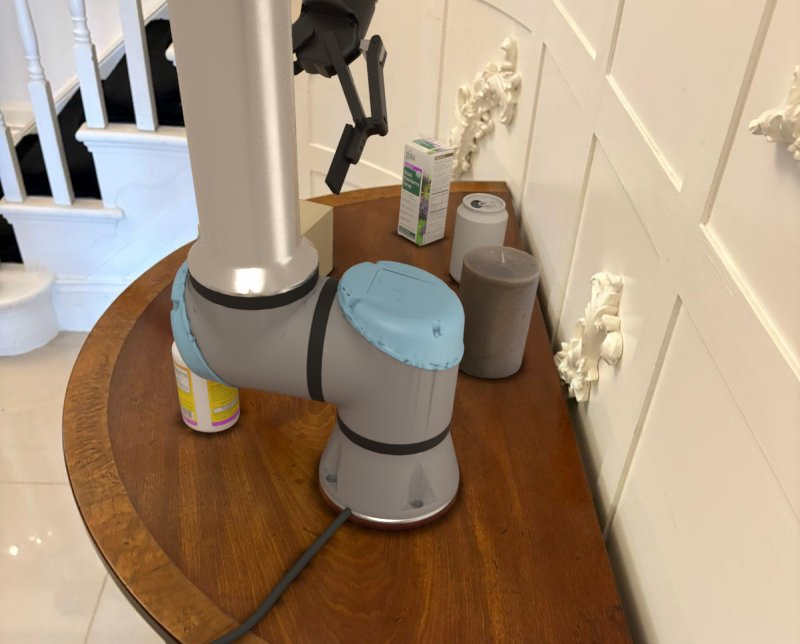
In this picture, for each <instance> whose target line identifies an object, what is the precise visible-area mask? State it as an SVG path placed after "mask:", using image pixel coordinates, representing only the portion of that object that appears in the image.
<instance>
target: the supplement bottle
mask: <svg viewBox="0 0 800 644" xmlns="http://www.w3.org/2000/svg"><path fill="white" fill-rule="evenodd" d="M171 355H172V363H173V368H174V369H173V370H174V375H175V381H176V387H177V388H176V389H177V393H178V400H179V406H180V412H181V418H182V421H183V422H184V423H185V424H186V425H187V426H188V427H189V428H190V429H193V430H195V431H198V432H202V433H218V432H223V431H225V430H228V429H229V428H231V427H233V426H234V425H235V424H236V423H237V422H238V420H239V419H240V415H241V406H240V397H239V388H234V387H229V386H225V385H224V384H221V383H217V382H213V381H210V380H206V379H203V378H201V377H199V376H197V375H196V374H194V373H193V372H192V371H191V370H190V369H189V368H188V367H187V366H186V364H185V363H184V361H183V360H182V358H181V356H180V354H179V352H178V349H177V347H176V344H175V340H173V343H172V345H171Z"/></svg>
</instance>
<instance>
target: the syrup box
mask: <svg viewBox="0 0 800 644" xmlns="http://www.w3.org/2000/svg"><path fill="white" fill-rule="evenodd" d="M455 149H456V148H455V147H453V146H450V145H447V144H445V143H443V142H440V141H439V140H436V139H434V138H433V137H430V136H428V137H419V138H414V139H411V140H409V141H407V142H405V144H404V154H403V165H402V177H401V189H400V203H399V215H398V223H397V235H398V236H402V237H403V238H406V239H407V240H409V241H411V242H412V243H414V244H416V245H418V246H419V247H422V246H425V245H427V244H430V243H433V242H436V241H438V240H441V239H443V238H444V236H445V229H446V222H447V221H446V220H447V213H448V206H449V205H448V204H449V197H450V188H451V182H452V173H453V166H454V158H455Z"/></svg>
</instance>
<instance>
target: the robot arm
mask: <svg viewBox="0 0 800 644" xmlns="http://www.w3.org/2000/svg"><path fill="white" fill-rule="evenodd" d="M378 3H379V0H302V1H301V4H300V13H299V16H298V17H297V19H296V20H295V21H294V22H293V21H292V19H293V18H292V0H166V4H167V5H166V6H167V12H168V18H169V25H170V32H171V38H172V46H173V53H174V59H175V68H176V72H177V79H178V86H179V95H180V100H181V108H182V114H183V115H182V116H183V122H184V128H185V134H186V142H187V150H188V155H189V162H190V170H191V177H192V183H193V190H194V196H195V204H196V211H197V217H198V218H197V219H198V224H199V225H200V232H201V238H199V239H198V238H197V240H196V241H195V242H194V243H193V244H192V246H191V247H190V249H189V251H188V253H187V258H186V260H184V262H183V263H182V264H181V265H180V267H179V268H178V270H177V272H176V275H175V277H174V279H173V283H172V288H171V293H170V300H171V302H172V304H173V305H172V309H171V310H170V324H171V331H172V336H173V341H175V344H176V347H177V349H178V352H179V354H180V356H181V358H182V360H183V361H184V363H185V364H186V366H187V367H188V368H189V369H190V370H191V371H192V372H193V373H194V374H196V375H197V376H199V377H201V378H203V379H206V380H210V381H213V382H217V383H221V384H224V385H225V386H229V387H234V388H238V390H239V389H248V390H254V391H259V392H265V393H271V394H277V395H281V396H287V397H293V398H298V399H302V400H309V401H314V402H320V403H326V404H329V405H336V421H335V423H334V426H333V429H332V431H331V432H330V436H329V438H328V440H327V442H326V445H325V447H324V450H323V452H322V453H321V457H320V461H319V465H318V488H319V490H320V494H321V496H322V498H323V499H324V501H325V503H327V505H328V506H329V507H330V508H331V509H332V510H333V511H334V512H335V513H336V514H338V516H337V517H335V519H334V520H333V521H332V522H331V523H330V524H329V525H328V526H327V527H326V528H325V530H324V531H323V532H322V533H321V534H320V535H319V536H318V537H317V539H315V541H314V542H313V543H312V544H311V545H310V546H309V548H308V549H307V550H306V551H305V552H304V553H303V554H302V555H301V556H300V557H299V559H298V560H297V561H296V562H295V564H294V565H292V566H291V568H290V569H289V570H288V572H287V573H286V574H285V575H284V576H283V577H282V579H280V581H279V582H278V583H277V584H276V585H275V587H273V589H272V590H271V592H269V594H268V596H267V597H266V598H265V599H264V600H263V602H262V603H261V604H260V605H259V607H258V608H257V609H256V610H255V611H254V612H253V613H252V615H250V616H249V617H248V618H247V619H246V620H245V621H244V622H243V623H242V624H240V625H239V626H237V627H236V628H235V629H233V630H231V631H229V632H228V633H226V634H224V635H222V636H220V637H217V638H216V639H214V640H212V641H210V642H208V643H207V644H232V643H234V642H235V641H237V640H238V639H240V638H242V637H243V636H244V635H246V634H247V633H248V632H249V631H251V630H252V629H253V628H254V627H255V626H256V625H257V624H258V623H259V622H260V621H261V620H262V619H263V618H264V617H265V616H266V614H267V613H268V612H269V611H270V610H271V608H273V606H274V604H275V603H276V602H277V601H278V599H279V598H280V597H281V595H282V594H283V593H284V592H285V590H286V589H287V588H288V587H289V586H290V584H291V583H292V582H294V580H295V579H296V578H297V576H298V575H299V574H300V573H301V571H302V570H303V569H304V568H305V567H306V565H307V564H308V563H309V562H310V561H311V560H312V559H313V557H314V556H315V555H316V554H317V553H318V552H319V551H320V549H321V548H322V547H323V546H324V545H325V543H327V542H328V541H329V539H331V537H332V536H333V535H334V534H335V532H336V531H337V530H338V529H339V528H340V527H341V526H342V525H343V524H344V523H345V522H346V520H347V521H349V522H352V523H354V524H357V525H359V526H362V527H365V528H369V529H373V530H374V529H375V530H382V531H405V530H412V529H413V530H414V529H417V528H420V527H421V528H422V527H424V526H427V525H429V524H431V523H433V522H435V521H437V520H438V519H440V518H441V517H443V516H444V515H445V514H447V512H448V511H449V510H450V509H451V508H452V507H453V505H454V503H455V501H456V499H457V496H458V492H459V484H460V469H459V463H458V458H457V455H456V450H455V447H454V443H453V440H452V439H453V438H452V434H451V425H452V417H453V412H454V411H453V409H454V403H455V396H456V390H457V389H456V388H457V381H458V374H459V368H458V367H459V363H460V361H461V359H462V356H463V352H464V343H463V333H464V322H465V316H464V310H463V307H462V304H461V302H460V300H459V298H458V294H457V293H456V292H455V291H454V290H452V288H450V287H449V286H448V284H447V283H446V282H444V281H443V280H442V279H440V278H439V277H437V276H436V275H434V274H432V273H430V272H429V271H427V270H424V269H422V268H420V267H418V266H417V267H416V266H414V265H411V264H406V263H402V262H398V261H391V260H377V261H376V262H375V263H373V262H371V261H364V262H359V263H357V264H355V265H353V266H350V267H349V268H348V269H347V270H346V271H345V272H344V273H343V275H342V277H341V278H335V277H330V276H320V275H319V258H318V252H317V250H316V248H315V246H314V245H313V243H312V242H311V241H310V240H309V239H307V238H306V237H305V236H303V235H302V234H301V232H300V208H299V199H300V187H299V164H298V142H297V141H298V140H297V119H296V118H297V117H296V115H297V114H296V96H295V95H296V94H295V92H296V91H295V76H298V75H299V74H301V73H302V72H305V73H306V74H310V75H320V76H322V77H323V78H326V79H332V77H335V76H337V78H338V81H339V83H340V87H341V89H342V92H343V94H344V98H345V101H346V103H347V107H348V109H349V112H350V115H351V118H352V122H353V123H354V125H353V124H350V123H346V122H345V125H344V127H343V130H342V133H341V136H340V138H339V141H338V144H337V145H336V149H335V152H334V154H333V157H332V159H331V163H330V165H329V168H328V171H327V174H326V176H325V178H324V183H325V185H326V186H327V187H328V189H329V190H330V192H331V193H332V194H333V195H337V196H340V194H341V191H342V188H343V185H344V183H345V180H346V178H347V175H348V172H349V169H350V167H351V165H353V166H356V165H357V164H358V163H359V162H360V159H361V157H362V154H363V152H364V149H365V147H366V144H367V141H368V139H369V138H370V137H372V136H377V135H378V136H379V137H385V136H387V135H388V134H389V121H388V111H387V98H386V88H385V77H384V68H385V64H386V60H387V56H388V52H387V49H386V46H385V44H384V42H383V39H382V37H381V35H380V34H374V35H372V36H371V37H370V39H366V37H367V33H368V31H369V28H370V26H371V23H372V20H373V18H374V15H375V12H376V5H377V4H378ZM294 54H295V55H294ZM294 56H295V58H296V60H294ZM360 56H362V57H363V59H364V61H365V62H366V74H367V82H368V83H367V85H368V96H369V107H370V109H369V110H370V116H367V115H366V112H365V109H364V107H363V104H362V101H361V98H360V95H359V93H358V89H357V87H356V84H355V80H354V78H353V75H352V72H351V68H350V65H351V64H352V63H354V62H355V61H356V60H357V59H358V58H359V57H360Z"/></svg>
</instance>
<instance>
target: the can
mask: <svg viewBox="0 0 800 644" xmlns="http://www.w3.org/2000/svg"><path fill="white" fill-rule="evenodd" d="M506 206H507V205H506V202H505V200H503V199H502V198H501V197H499V196H497V195H494V194H490V193H484V192H483V193H482V192H477V193H470V194H467V195H465V196H464V197H463V198H462V203H461V204H459V205H458V207H457V208H456V214H455V223H454V230H453V238H452V247H451V255H450V264H449V274H450V275H451V277H452V278H453V279H454V280H455V281H456V282H457V283H458V284H460V278H461V272H462V265H463V259H464V256H465V254H466V252H467V251H469V250H471V249H473V248H476V247H480V246H491V245H500V246H504V243H505V237H506V231H507V226H508V220H509V213H508V211H507V209H506Z"/></svg>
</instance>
